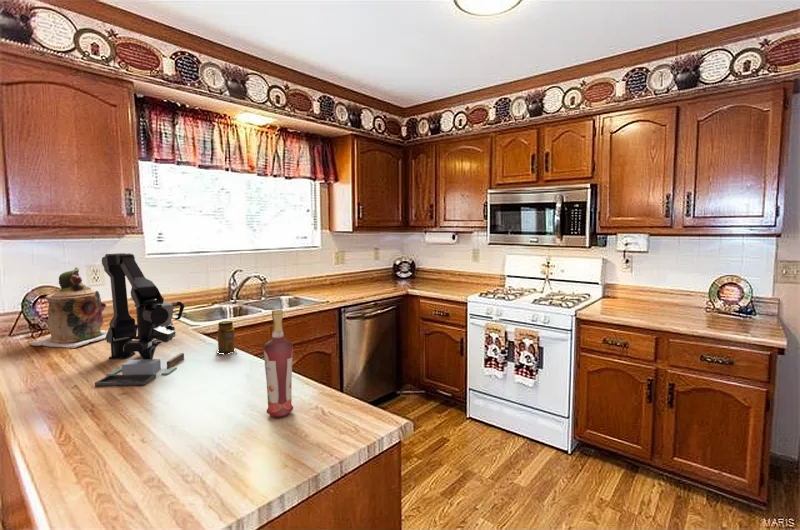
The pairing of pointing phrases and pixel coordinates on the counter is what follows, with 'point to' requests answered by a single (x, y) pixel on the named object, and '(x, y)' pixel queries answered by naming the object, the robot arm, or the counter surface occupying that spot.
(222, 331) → the condiment
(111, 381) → the tray
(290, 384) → the liquor
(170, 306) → the coffeepot
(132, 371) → the block
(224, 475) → the counter surface
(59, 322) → the cookie jar
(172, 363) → the brown wooden beams
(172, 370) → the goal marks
